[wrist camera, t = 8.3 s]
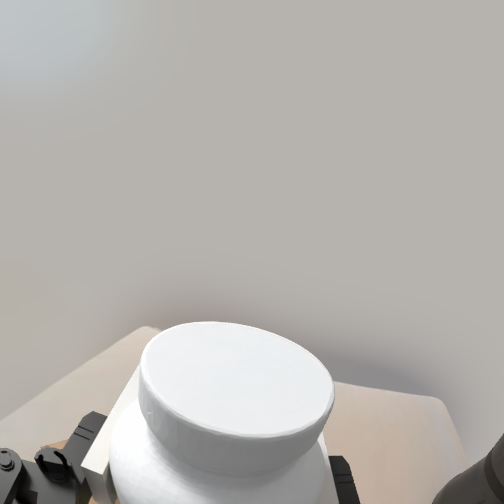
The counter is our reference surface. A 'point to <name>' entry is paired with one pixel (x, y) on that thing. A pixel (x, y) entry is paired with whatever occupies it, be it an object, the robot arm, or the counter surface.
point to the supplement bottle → (223, 420)
